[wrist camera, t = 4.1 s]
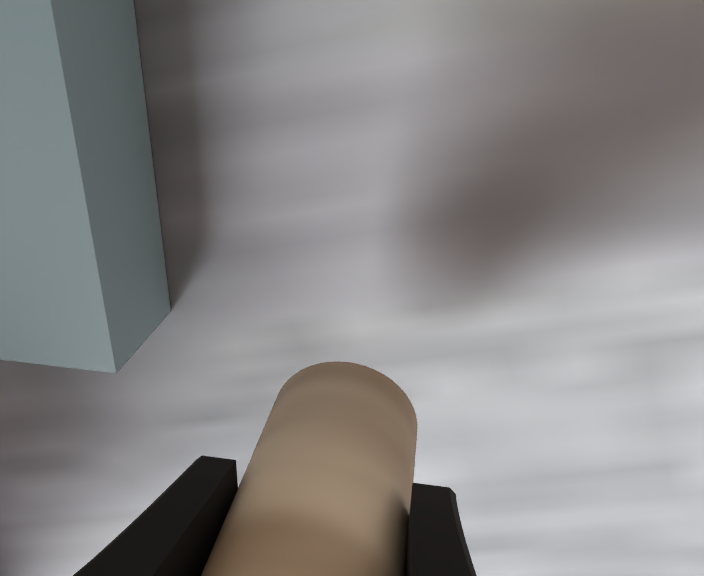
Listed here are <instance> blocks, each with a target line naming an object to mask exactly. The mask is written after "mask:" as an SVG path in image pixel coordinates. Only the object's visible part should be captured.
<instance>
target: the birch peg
mask: <svg viewBox="0 0 704 576" xmlns="http://www.w3.org/2000/svg"><path fill="white" fill-rule="evenodd" d="M416 440H417V419H416V414H415V411H414V408H413V406H412V404H411V402H410V400H409V398H408V397H407V395H406V394H405V393H404V391H403V390H402V389H401V388H400V387H399V386H398V385H397V384H396V383H395V382H393V381H392V380H391V379H390V378H388V377H387V376H385V375H384V374H382V373H380V372H378V371H376V370H374V369H371V368H369V367H366V366H363V365H359V364H355V363H349V362H325V363H320V364H316V365H313V366H309V367H307V368H305V369H303V370H301V371H299V372H298V373H296V374H295V375H293V376H292V377H291V378H290V379H289V380H288V381H287V382H286V383H285V384H284V385H283V387H282V389H281V390H280V392H279V394H278V396H277V399H276V401H275V403H274V406H273V408H272V410H271V413H270V415H269V417H268V420H267V422H266V424H265V427H264V429H263V431H262V434H261V436H260V438H259V441H258V443H257V445H256V448H255V450H254V452H253V455H252V457H251V460H250V462H249V464H248V467H247V469H246V471H245V474H244V476H243V478H242V481H241V483H240V485H239V488H238V490H237V492H236V495H235V497H234V499H233V502H232V504H231V506H230V509H229V511H228V513H227V516H226V518H225V520H224V523H223V525H222V528H221V530H220V532H219V535H218V537H217V539H216V542H215V544H214V546H213V549H212V551H211V553H210V556H209V558H208V560H207V563H206V565H205V567H204V570H203V572H202V574H201V576H405V561H406V549H407V537H408V524H409V513H410V502H411V492H412V483H413V478H414V465H415V452H416Z"/></svg>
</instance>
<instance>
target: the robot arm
mask: <svg viewBox="0 0 704 576" xmlns="http://www.w3.org/2000/svg"><path fill="white" fill-rule="evenodd" d="M237 490H238V484H237V470H236V460H231V459H224V458H216V457H208V456H201V457H199V458H198V459H197V460H196V461H195V462H194V463H193V464H192V465H191V466H190V467H189V468H188V469H187V470H186V471H185V472H184V473H183V474H182V475H181V476H180V477H179V478H178V479H177V480H176V481H175V482H174V483H173V484H172V485H171V486H169V487H168V488H167V489H166V490H165V491H164V492H163V493H162V494H161V495H160V496H159V497H158V498H157V499H156V500H155V501H154V502H153V503H152V504H151V505H150V506H149V507H148V508H147V509H146V510H145V511H144V512H143V513H142V514H141V515H140V516H139V517H138V518H137V519H136V520H134V521H133V522H132V523H131V524H130V525H129V526H128V527H127V528H126V529H125V530H124V531H123V532H121V533H120V534H119V535H118V536H117V537H116V538H115V539H114V540H113V541H112V542H111V543H110V544H109V545H107V546H106V547H105V548H104V549H103V550H102V551H101V552H100V553H99V554H98V555H96V556H95V557H94V558H93V559H92V560H91V561H90V562H88V563H87V564H86V565H85V566H84V567H82V568H81V569H80V570H79V571H78V572H77V573H75V574H74V575H73V576H201V574H202V572H203V570H204V567H205V565H206V563H207V560H208V558H209V556H210V553H211V551H212V549H213V546H214V544H215V542H216V539H217V537H218V535H219V532H220V530H221V528H222V525H223V523H224V520H225V518H226V516H227V513H228V511H229V509H230V506H231V504H232V502H233V499H234V497H235V495H236V492H237ZM405 576H476V573H475V570H474V567H473V564H472V560H471V557H470V554H469V550H468V547H467V544H466V540H465V537H464V533H463V529H462V525H461V521H460V517H459V512H458V507H457V501H456V494H455V493H454V492H453V491H452V490H451V489H450V488H449V487H441V486H433V485H426V484H418V483H412V492H411V502H410V513H409V524H408V537H407V549H406V561H405Z"/></svg>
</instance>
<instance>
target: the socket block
mask: <svg viewBox="0 0 704 576" xmlns="http://www.w3.org/2000/svg"><path fill="white" fill-rule="evenodd" d="M170 311H171V308H170V300H169V291H168V283H167V275H166V267H165V258H164V250H163V242H162V233H161V225H160V217H159V208H158V200H157V192H156V184H155V175H154V167H153V159H152V150H151V142H150V134H149V125H148V117H147V109H146V101H145V92H144V84H143V76H142V67H141V59H140V51H139V42H138V34H137V26H136V18H135V9H134V1H133V0H0V360H6V361H15V362H23V363H32V364H40V365H49V366H57V367H66V368H74V369H82V370H91V371H99V372H108V373H117V372H118V371H119V370H120V369H121V367H122V366H123V365H124V364H125V363H126V362H127V361H128V359H129V358H130V357H131V356H132V355H133V354H134V353H135V351H136V350H137V349H138V348H139V347H140V346H141V345H142V343H143V342H144V341H145V340H146V339H147V338H148V337H149V335H150V334H151V333H152V332H153V331H154V330H155V329H156V327H157V326H158V325H159V324H160V323H161V322H162V321H163V319H164V318H165V317H166V316H167V315H168V314H169V313H170Z"/></svg>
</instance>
